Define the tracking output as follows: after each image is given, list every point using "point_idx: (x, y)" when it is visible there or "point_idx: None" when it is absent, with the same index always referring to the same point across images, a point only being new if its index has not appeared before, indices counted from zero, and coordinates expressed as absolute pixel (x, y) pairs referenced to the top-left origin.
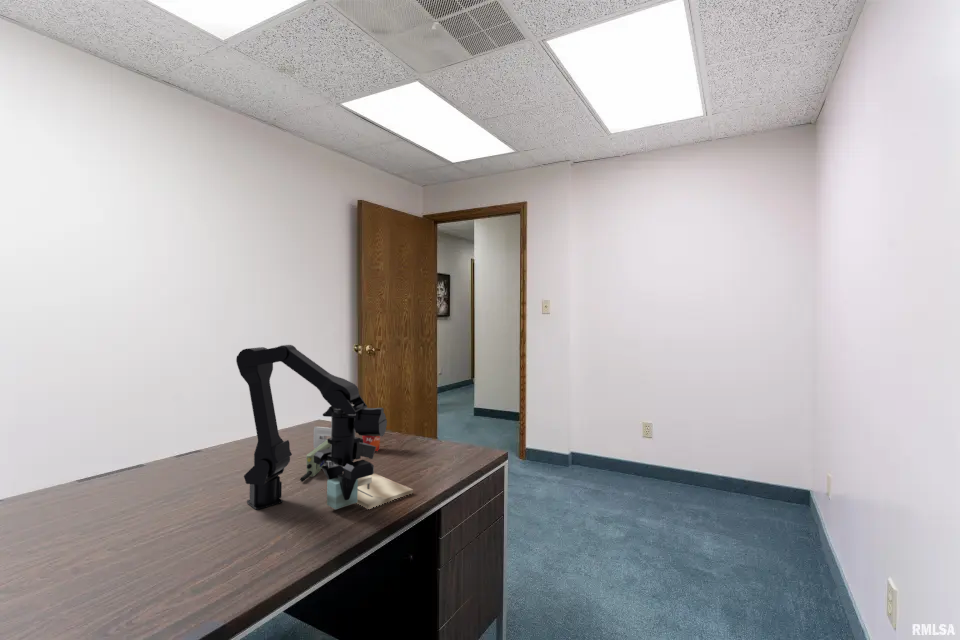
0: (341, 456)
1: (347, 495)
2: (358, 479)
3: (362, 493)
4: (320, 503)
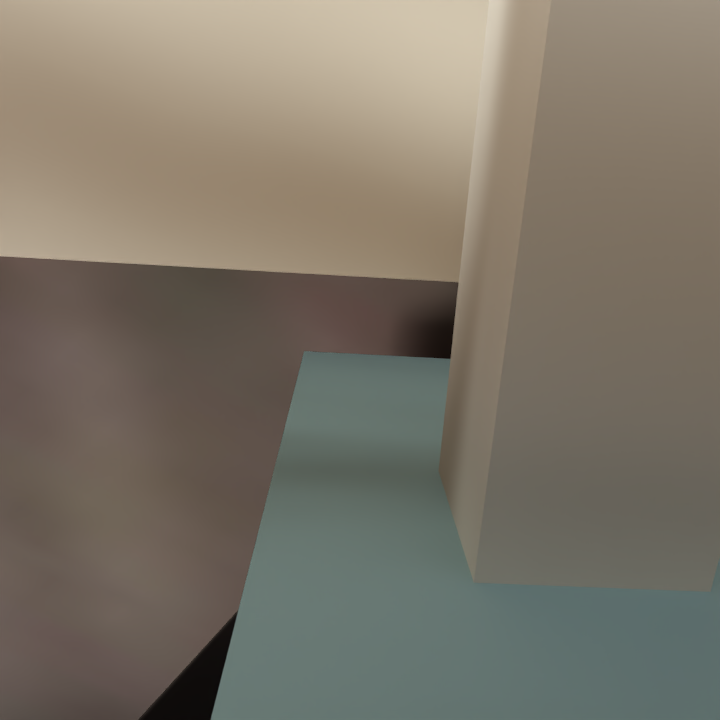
0: None
1: None
2: (597, 303)
3: (318, 9)
4: (33, 608)
